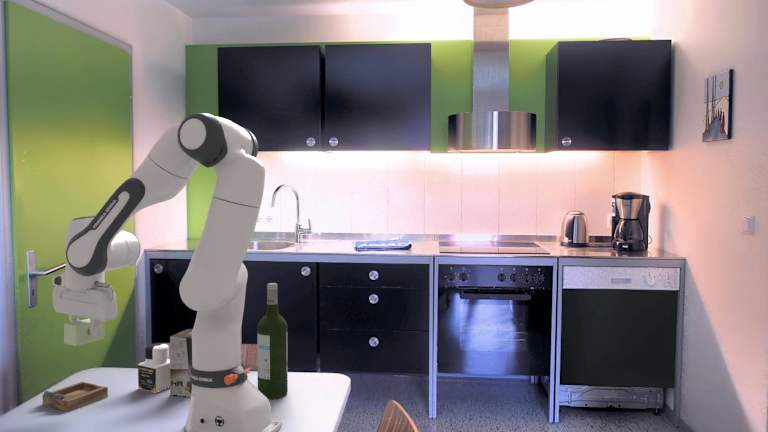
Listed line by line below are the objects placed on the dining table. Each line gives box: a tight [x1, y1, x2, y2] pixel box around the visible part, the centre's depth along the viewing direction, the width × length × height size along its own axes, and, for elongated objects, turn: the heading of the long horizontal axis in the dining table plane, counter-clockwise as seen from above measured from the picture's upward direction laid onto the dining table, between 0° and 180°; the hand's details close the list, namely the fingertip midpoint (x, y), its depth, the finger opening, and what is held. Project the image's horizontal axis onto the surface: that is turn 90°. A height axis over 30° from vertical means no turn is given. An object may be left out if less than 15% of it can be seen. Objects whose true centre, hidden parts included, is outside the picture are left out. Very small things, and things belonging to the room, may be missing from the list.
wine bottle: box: [256, 282, 289, 400], centre depth 147 cm, size 8×8×30 cm
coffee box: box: [169, 328, 193, 398], centre depth 149 cm, size 9×6×16 cm
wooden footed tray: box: [42, 381, 109, 412], centre depth 142 cm, size 10×12×4 cm
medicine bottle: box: [137, 342, 170, 393], centre depth 152 cm, size 7×7×12 cm
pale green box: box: [63, 318, 106, 347], centre depth 139 cm, size 4×8×5 cm, turn 154°
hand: (84, 333), depth 139 cm, fingers closed on pale green box, 4 cm apart
